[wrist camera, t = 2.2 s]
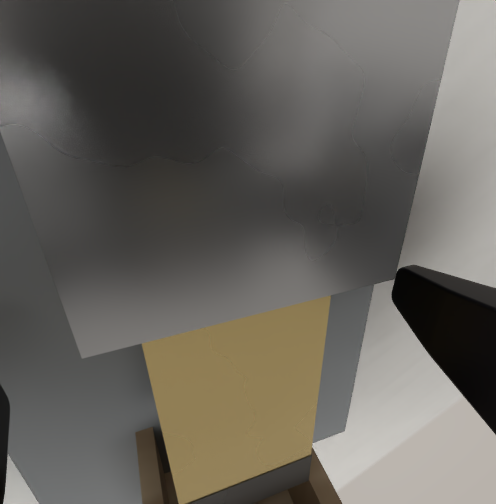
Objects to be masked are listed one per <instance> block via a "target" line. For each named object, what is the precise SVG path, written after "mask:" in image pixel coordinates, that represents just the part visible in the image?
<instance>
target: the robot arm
mask: <svg viewBox="0 0 496 504" xmlns="http://www.w3.org/2000/svg"><path fill="white" fill-rule="evenodd" d="M392 300H393V303H394V304H395V306H396V307H397V309H398V310H399V312H400V313H401V315H402V316H403V318H404V319H405V321H406V322H407V323H408V325H409V326H410V328H411V329H412V331H413V332H414V334H415V335H416V337H417V338H418V340H419V341H420V342H421V344H422V345H423V347H424V348H425V349H426V351H427V352H428V353H429V355H430V356H431V357H432V358H433V360H434V361H435V362H436V363H437V365H438V366H439V367H440V368H441V369H442V371H443V372H444V373H445V374H446V375H447V377H448V378H449V379H450V380H451V381H452V383H453V384H454V385H455V386H456V387H457V389H458V390H459V391H460V392H461V393H462V395H463V396H464V397H465V398H466V399H467V401H468V402H469V403H470V404H471V405H472V407H473V408H474V409H475V410H476V411H477V413H478V414H479V415H480V416H481V418H482V419H483V420H484V421H485V422H486V423H487V425H488V426H489V427H490V428H491V429H492V431H493V432H494V433H495V434H496V288H493V287H489V286H486V285H482V284H479V283H475V282H472V281H469V280H465V279H462V278H458V277H455V276H451V275H448V274H444V273H441V272H438V271H434V270H431V269H427V268H424V267H420V266H417V265H410V266H406V267H402V268H400V269H399V270H398V271H397V273H396V277H395V281H394V285H393V290H392ZM9 422H10V403H9V399H8V397H7V395H6V393H5V391H4V389H3V388H2V386H1V384H0V504H3V501H4V494H5V483H6V470H7V454H8V438H9Z"/></svg>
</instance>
